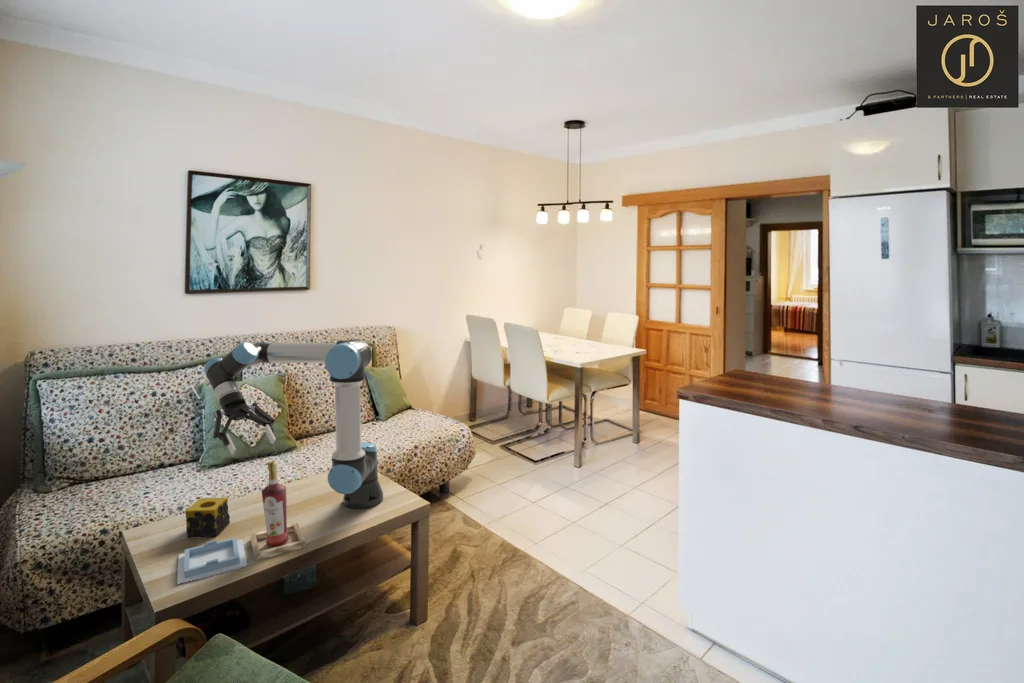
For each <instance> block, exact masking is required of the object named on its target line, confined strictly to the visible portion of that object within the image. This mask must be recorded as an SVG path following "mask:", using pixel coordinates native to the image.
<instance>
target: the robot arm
mask: <svg viewBox="0 0 1024 683" xmlns="http://www.w3.org/2000/svg"><path fill="white" fill-rule="evenodd" d="M372 357H373V354H372V348H371V347H370V345H369V344H368V343H367V342H365V341H364V340H361V339H357V338H356V339H355V338H353V339H348V340H341V339H340V340H337V341H335V342H326V343H325V342H315V343H314V342H302V343H301V342H298V343H297V342H295V343H294V342H292V343H291V342H287V343H286V342H285V343H284V342H283V343H282V342H281V343H280V342H279V343H277V342H275V343H272V342H271V343H269V342H267V341H259V342H256V343H253V344H252V343H250V342H247V341H242V342H240V343H239V344H238V345H236V346H234V347H233V349H232V350H231V351H230V352H228V353H227V354H226V355H225V356H224V357H223V358H222V357H216V358H212V359H211V360H208V361H207V362H206V363H205V365H204V367H203V370H204V373H205V375H206V376H205V377H206V379H207V380H208V382H209V384H210V386H211V387H212V390H213V393H214V394H215V397H216V399H217V401H218V402H219V404H220V407H221V409H222V410H220V409H217V410H216V411H215V414H214V417H215V423H214V427H213V428H214V429H213V435H212V436H213V437H212V438H213V439H217V438H218V439H219V440H220V441H221V443H222V444H223V446H225V447H227V449H228V450H229V452H230V455H234V454H235V453H236V451H237V448H236V446H235V444H234V442H233V440H232V438H231V436H230V434H229V433H227V432H228V429H229V427H230V425H231V423H232V421H235V422H237V421H239V420H245V419H246V420H251V421H252V422H254V423H256V424H258V425H259V426H262V427H264V428H263V430H264V432H265V435H266V436H267V438H268V441H269V442H270V444H273V445H274V443H275V442H276V441H277V439H276V436H275V434H274V433H275V429H274V428H273V424H274V422H276V419H275V418H273V416H271V415H270V414H268V413H267V412H266V411H264V410H263V409H262V408H260V407H259V405H258V404H257V402H253V403H252V404H250V405H249V404H247V401H246V399H245V398H244V396H243V393H242V391H241V389H240V387H239V386H238V383H237V381H236V379H235V378H236V376H238V375H239V374H241V372H243V371H245V369H246V368H250V367H253V366H255V365H258V364H302V363H303V364H324V367H325V370H326V372H327V373H328V374H329V380H330V383H332V385H334V400H335V402H334V403H335V404H334V405H335V451H334V452H332V454H331V468H330V469H329V471H328V473H327V483H328V485H329V486H330V488H331V489H333V490H334V492H336V493H338V494H341V495H343V498H342V501H343V505H344V506H345V507H347V508H349V509H359V510H360V509H367V508H371V507H375V506H377V505H378V504H381V503H382V501H384V491H383V488H382V486H381V485H380V484H381V483H380V482H379V475H378V470H379V469H378V451H377V445H376V444H375V443H373V442H367V441H363V442H362V435H361V434H362V428H361V427H362V426H361V424H362V423H361V422H362V420H361V419H362V418H361V417H362V416H361V415H362V414H361V384H362V383H363V382H364V381H365V368H367V367H368V366H369V364H370V363H371V362H372V361H371V360H372V359H373V358H372ZM223 416H225V417H226V418H228V419H227V421H226V423H225V425H224V427H223V429H222V431H221V425H222V424H221V422H222V419H223ZM220 431H221V432H220Z"/></svg>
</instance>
